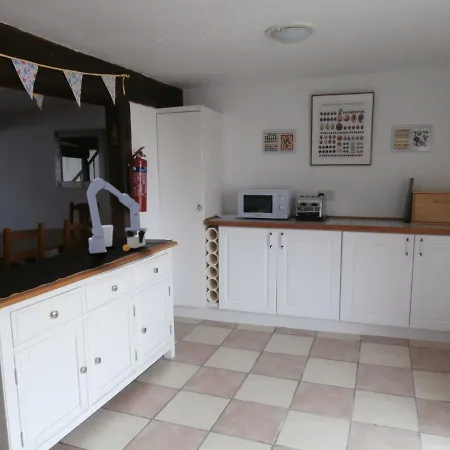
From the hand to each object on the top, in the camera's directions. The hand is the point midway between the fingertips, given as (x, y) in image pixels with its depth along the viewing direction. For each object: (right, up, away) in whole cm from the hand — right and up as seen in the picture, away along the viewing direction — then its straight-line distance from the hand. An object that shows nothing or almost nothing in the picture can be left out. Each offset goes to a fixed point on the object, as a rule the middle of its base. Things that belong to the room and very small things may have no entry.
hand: (136, 242), depth 260 cm
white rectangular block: (0, -2, 0) cm, 2 cm away
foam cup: (-22, -3, +13) cm, 26 cm away
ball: (-4, -3, -10) cm, 11 cm away
